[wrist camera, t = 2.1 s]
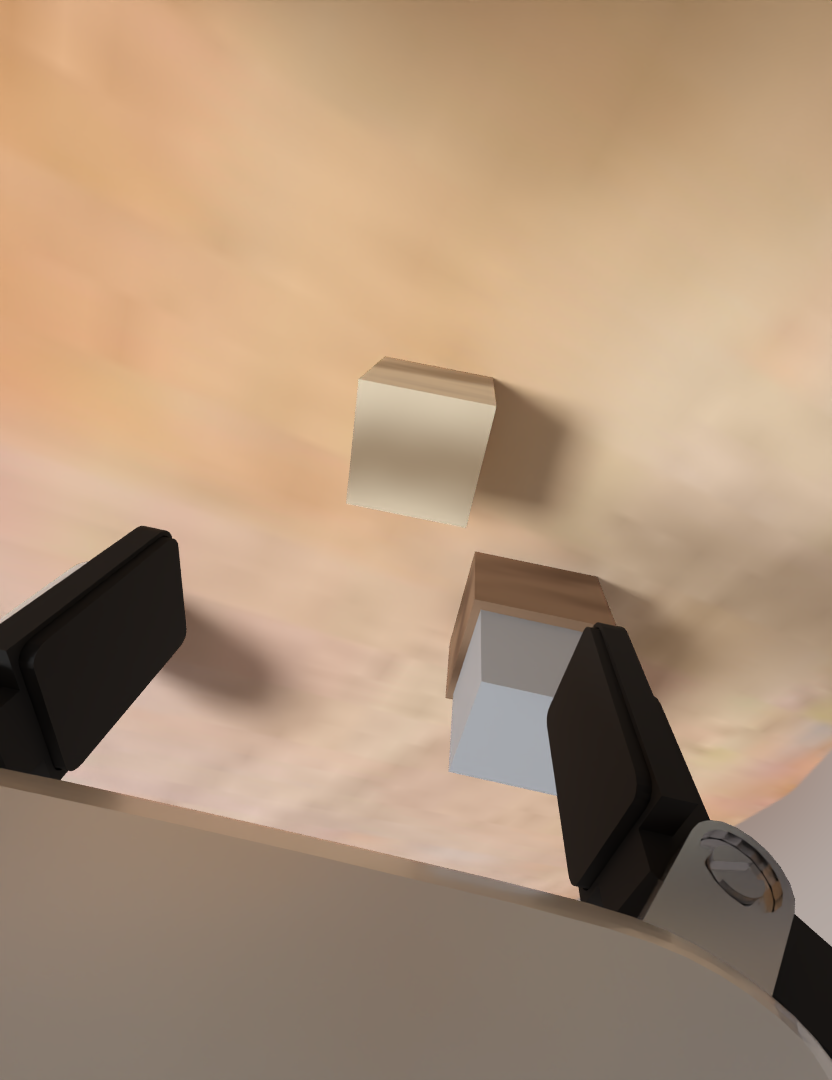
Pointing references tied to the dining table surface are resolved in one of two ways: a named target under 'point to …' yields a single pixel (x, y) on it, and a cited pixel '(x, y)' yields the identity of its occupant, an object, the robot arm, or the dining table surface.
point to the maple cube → (419, 440)
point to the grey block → (508, 701)
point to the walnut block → (523, 601)
